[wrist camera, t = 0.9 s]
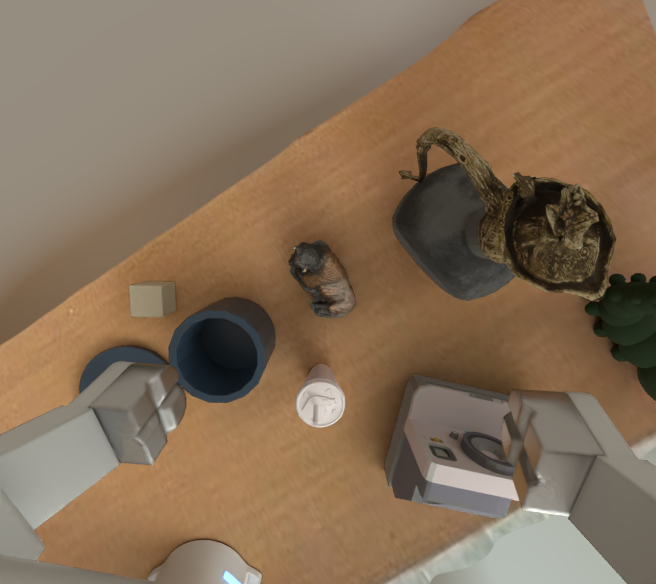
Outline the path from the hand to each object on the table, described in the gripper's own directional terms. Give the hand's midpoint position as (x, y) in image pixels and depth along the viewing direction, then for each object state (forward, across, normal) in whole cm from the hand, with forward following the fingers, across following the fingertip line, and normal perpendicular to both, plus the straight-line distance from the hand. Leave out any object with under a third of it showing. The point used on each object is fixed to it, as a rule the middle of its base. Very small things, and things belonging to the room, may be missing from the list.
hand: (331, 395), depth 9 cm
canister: (+35, -21, -24) cm, 47 cm away
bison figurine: (+40, -8, -16) cm, 44 cm away
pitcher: (+45, +7, -10) cm, 47 cm away
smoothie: (+35, -8, -31) cm, 47 cm away
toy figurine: (+44, +37, -27) cm, 64 cm away
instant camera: (+35, +12, -42) cm, 56 cm away
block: (+35, -32, -18) cm, 50 cm away
